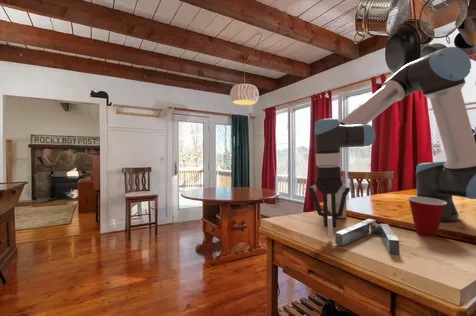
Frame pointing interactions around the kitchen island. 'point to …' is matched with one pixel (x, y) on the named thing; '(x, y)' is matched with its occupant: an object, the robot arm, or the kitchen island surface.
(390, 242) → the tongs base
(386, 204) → the kitchen island surface
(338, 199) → the cracker box
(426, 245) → the kitchen island surface
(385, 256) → the kitchen island surface
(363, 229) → the bar
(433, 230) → the plastic cup
